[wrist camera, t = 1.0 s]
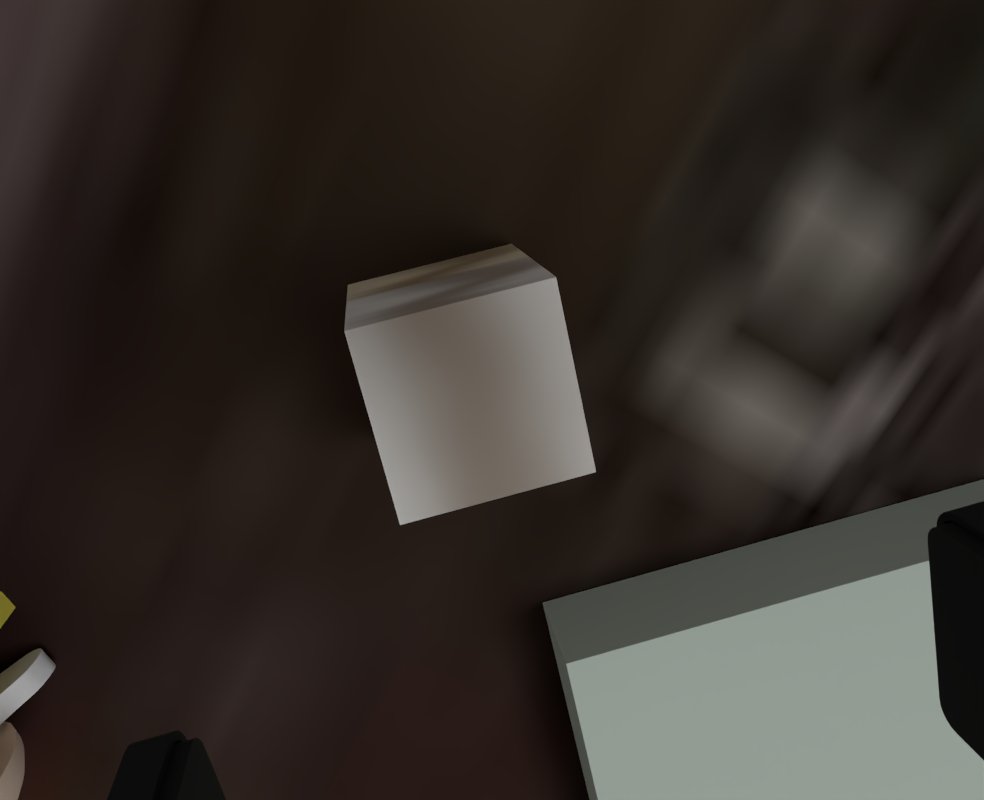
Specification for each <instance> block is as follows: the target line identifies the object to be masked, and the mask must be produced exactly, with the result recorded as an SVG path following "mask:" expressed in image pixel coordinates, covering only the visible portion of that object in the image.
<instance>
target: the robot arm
mask: <svg viewBox="0 0 984 800" xmlns="http://www.w3.org/2000/svg"><path fill="white" fill-rule="evenodd" d="M928 553H929V566H930V580H931V593H932V606H933V620H934V633H935V646H936V660H937V673H938V687H939V699H940V705H941V708H942V711H943V714H944V716H945V718H946V720H947V721H948V723H949V725H950V726H951V727H952V729H953V730H954V731H955V732H956V733H957V734H958V735H959V736H960V737H961V738H962V739H963V740H964V741H965V742H966V743H967V744H968V745H969V746H970V747H971V748H972V749H973V750H974V751H975V752H976V753H977V754H978V755H979V756H980V757H981V758H982V759H983V760H984V501H982V502H978V503H975V504H971V505H968V506H964V507H961V508H957V509H954V510H950V511H947V512H943V513H942V514H941V515H940V516H939V517H938V520H937V527H933V528H932V529H930V530H929V533H928ZM107 800H226V799H225V797H224V794H223V792H222V789H221V787H220V784H219V782H218V779H217V777H216V774H215V772H214V769H213V767H212V764H211V762H210V759H209V757H208V754H207V752H206V750H205V747H204V745H203V743H202V742H201V741H200V739H198V738H194V739H191V740H187V739H186V738H185V736H184V735H183V734H182V733H181V732H180V731H173V732H170V733H166V734H163V735H159V736H156V737H152V738H149V739H145V740H142V741H138V742H135V743H132V744H130V745H129V746H128V747H127V749H126V751H125V753H124V756H123V758H122V761H121V764H120V766H119V769H118V772H117V774H116V777H115V780H114V783H113V785H112V788H111V791H110V793H109V796H108V799H107Z"/></svg>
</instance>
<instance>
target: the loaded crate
mask: <svg viewBox="0 0 984 800" xmlns="http://www.w3.org/2000/svg"><path fill="white" fill-rule="evenodd" d="M344 332H345V336H346V339H347V343H348V346H349V350H350V353H351V357H352V360H353V364H354V367H355V370H356V374H357V377H358V381H359V384H360V388H361V391H362V395H363V398H364V402H365V405H366V409H367V412H368V416H369V419H370V422H371V426H372V429H373V433H374V436H375V440H376V443H377V447H378V450H379V454H380V457H381V461H382V464H383V468H384V471H385V474H386V478H387V481H388V485H389V488H390V492H391V495H392V499H393V502H394V506H395V509H396V513H397V516H398V519H399V523H400V525H402V524H406V523H410V522H413V521H417V520H421V519H424V518H428V517H432V516H435V515H439V514H443V513H447V512H450V511H454V510H458V509H461V508H465V507H469V506H472V505H476V504H480V503H483V502H487V501H491V500H495V499H498V498H502V497H506V496H509V495H513V494H517V493H520V492H524V491H528V490H532V489H535V488H539V487H543V486H546V485H550V484H554V483H557V482H561V481H565V480H568V479H572V478H576V477H580V476H583V475H587V474H591V473H594V472H596V469H595V465H594V460H593V455H592V450H591V445H590V440H589V435H588V430H587V425H586V421H585V416H584V411H583V406H582V401H581V396H580V391H579V386H578V381H577V377H576V372H575V367H574V362H573V357H572V352H571V347H570V342H569V337H568V333H567V328H566V323H565V318H564V313H563V308H562V303H561V298H560V294H559V289H558V284H557V279H556V277H555V276H554V275H553V274H551V273H550V272H549V271H547V270H546V269H545V268H543V267H542V266H541V265H539V264H538V263H537V262H535V261H534V260H533V259H531V258H530V257H529V256H527V255H526V254H525V253H523V252H522V251H521V250H519V249H518V248H517V247H515V246H514V245H513V244H508V245H504V246H500V247H496V248H492V249H488V250H484V251H481V252H477V253H473V254H469V255H465V256H461V257H457V258H453V259H449V260H445V261H441V262H437V263H433V264H429V265H425V266H421V267H417V268H413V269H409V270H405V271H401V272H397V273H393V274H389V275H385V276H381V277H377V278H373V279H369V280H365V281H361V282H357V283H353V284H349V285H348V289H347V301H346V314H345V326H344Z"/></svg>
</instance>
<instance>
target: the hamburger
mask: <svg viewBox="0 0 984 800" xmlns="http://www.w3.org/2000/svg"><path fill="white" fill-rule="evenodd" d="M15 608H16V607H15V606H14V605H13V604H12V603H11V602H10V600H9V599H8V598H7V597H6V596H5V595H4V594H3V593H2V592H1V591H0V628H1V627H2V626H3V624H4V623H5V621H6V620H7V619H8V617H9V616H10V615H11V613H12V612H13V610H14V609H15ZM55 667H56V665H55V663H54V662H53V661H52V660H51V659H50V658H49V657H48V656H47V655H46V653H45V652H44V651H43V650H42V649H41V648H38V649H35V650H33V651H31V652H30V653H28V654H26V655H25V656H24V657H22V658H21V659H19V660H18V661H17V662H15V663H14V664H13V665H11V666H10V667H9V668H7V669H6V670H5V671H3V672H2V673H1V674H0V800H18V797H19V793H20V790H21V786H22V783H23V778H24V772H25V759H24V746H23V742H22V739H21V737H20V735H19V734H18V732H17V731H16V730H15V728H14V727H13V726H12V724H11V723H8V722H4V721H5V720H6V719H7V718H8V717H9V716H10V715H11V714H12V713H14V712H15V711H16V710H17V709H18V708H19V707H20V706H21V705H22V704H23V703H25V702H26V701H27V700H28V699H29V698H30V697H31V696H32V695H34V694H35V693H36V692H37V691H38V690H39V689H40V688H41V686H42V685H43V684H44V683H45V682H46V680H47V679H48V678H49V677H50V675H51V674H52V672H53V671H54V669H55Z"/></svg>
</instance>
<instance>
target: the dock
mask: <svg viewBox="0 0 984 800" xmlns="http://www.w3.org/2000/svg"><path fill="white" fill-rule="evenodd" d="M982 501H984V479H983V480H979V481H975V482H972V483H968V484H965V485H961V486H958V487H954V488H950V489H947V490H943V491H940V492H936V493H933V494H929V495H925V496H922V497H918V498H915V499H911V500H908V501H904V502H900V503H897V504H893V505H890V506H886V507H882V508H879V509H875V510H872V511H868V512H865V513H861V514H857V515H854V516H850V517H847V518H843V519H840V520H836V521H832V522H829V523H825V524H822V525H818V526H814V527H811V528H807V529H804V530H800V531H797V532H793V533H789V534H786V535H782V536H779V537H775V538H772V539H768V540H764V541H761V542H757V543H754V544H750V545H747V546H743V547H739V548H736V549H732V550H729V551H725V552H721V553H718V554H714V555H711V556H707V557H704V558H700V559H696V560H693V561H689V562H686V563H682V564H679V565H675V566H671V567H668V568H664V569H661V570H657V571H654V572H650V573H646V574H643V575H639V576H636V577H632V578H628V579H625V580H621V581H618V582H614V583H611V584H607V585H603V586H600V587H596V588H593V589H589V590H586V591H582V592H578V593H575V594H571V595H568V596H564V597H560V598H557V599H553V600H550V601H546V602H543V607H544V611H545V615H546V620H547V624H548V628H549V632H550V636H551V640H552V645H553V649H554V653H555V657H556V661H557V666H558V670H559V674H560V678H561V682H562V687H563V691H564V695H565V699H566V703H567V708H568V712H569V716H570V720H571V724H572V729H573V733H574V737H575V741H576V745H577V750H578V754H579V758H580V762H581V766H582V771H583V775H584V779H585V783H586V787H587V791H588V796H589V800H984V760H983V759H982V758H981V757H980V756H979V755H978V754H977V753H976V752H975V751H974V750H973V749H972V748H971V747H970V746H969V745H968V744H967V743H966V742H965V741H964V740H963V739H962V738H961V737H960V736H959V735H958V734H957V733H956V732H955V731H954V730H953V729H952V727H951V726H950V725H949V723H948V721H947V720H946V718H945V716H944V714H943V711H942V708H941V705H940V699H939V687H938V673H937V660H936V646H935V633H934V620H933V606H932V593H931V580H930V566H929V553H928V533H929V530H930V529H932V528H933V527H937V520H938V517H939V516H940V515H941V514H942V513H943V512H947V511H950V510H954V509H957V508H961V507H964V506H968V505H971V504H975V503H978V502H982Z"/></svg>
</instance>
